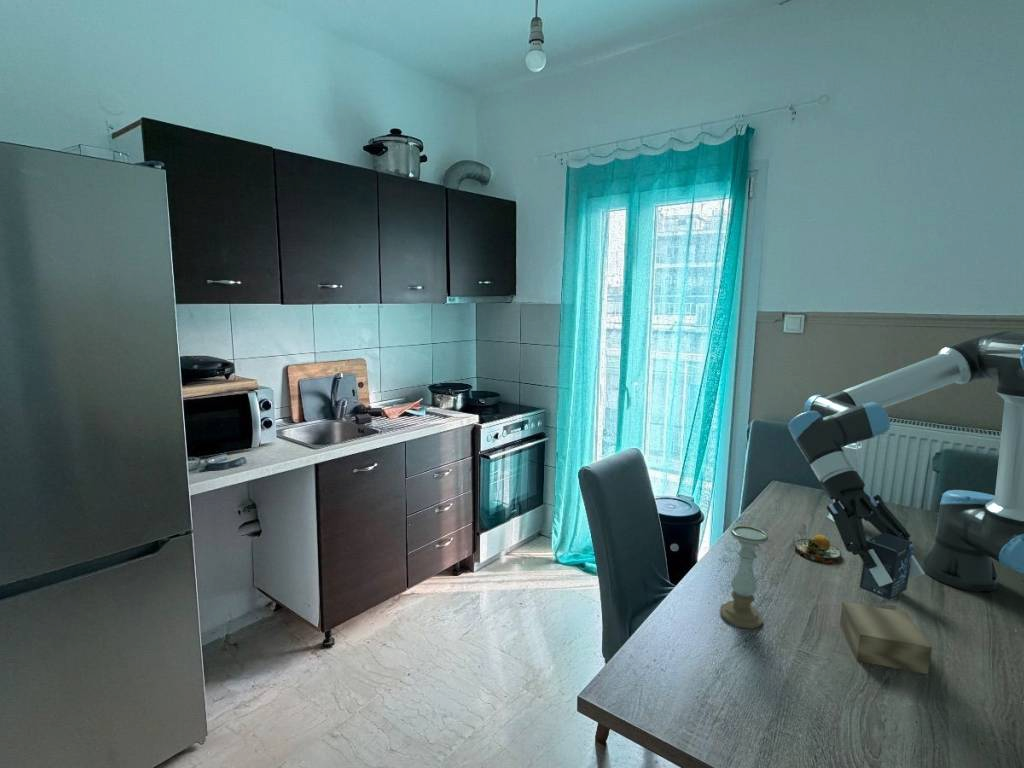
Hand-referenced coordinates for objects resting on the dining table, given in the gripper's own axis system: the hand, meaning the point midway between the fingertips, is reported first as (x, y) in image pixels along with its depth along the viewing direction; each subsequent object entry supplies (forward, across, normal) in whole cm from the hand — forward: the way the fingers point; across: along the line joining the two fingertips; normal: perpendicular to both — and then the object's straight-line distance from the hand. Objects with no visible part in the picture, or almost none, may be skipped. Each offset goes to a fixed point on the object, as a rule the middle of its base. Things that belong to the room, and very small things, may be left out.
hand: (902, 580), depth 105 cm
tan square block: (+10, 0, -14) cm, 17 cm away
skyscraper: (-24, -52, -48) cm, 75 cm away
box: (0, 0, -5) cm, 5 cm away
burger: (-15, -25, -39) cm, 48 cm away
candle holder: (-3, +20, -26) cm, 33 cm away
